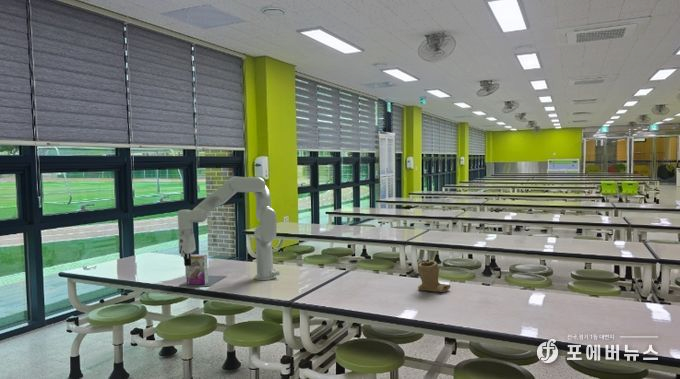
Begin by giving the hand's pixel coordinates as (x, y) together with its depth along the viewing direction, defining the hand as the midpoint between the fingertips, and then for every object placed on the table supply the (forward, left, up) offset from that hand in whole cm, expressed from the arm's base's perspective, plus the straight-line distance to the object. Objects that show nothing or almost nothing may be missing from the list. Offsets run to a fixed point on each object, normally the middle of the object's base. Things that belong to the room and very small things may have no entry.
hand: (187, 265), depth 246 cm
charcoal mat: (0, -16, -13) cm, 21 cm away
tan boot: (-131, -10, -13) cm, 132 cm away
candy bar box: (0, -9, -13) cm, 15 cm away
